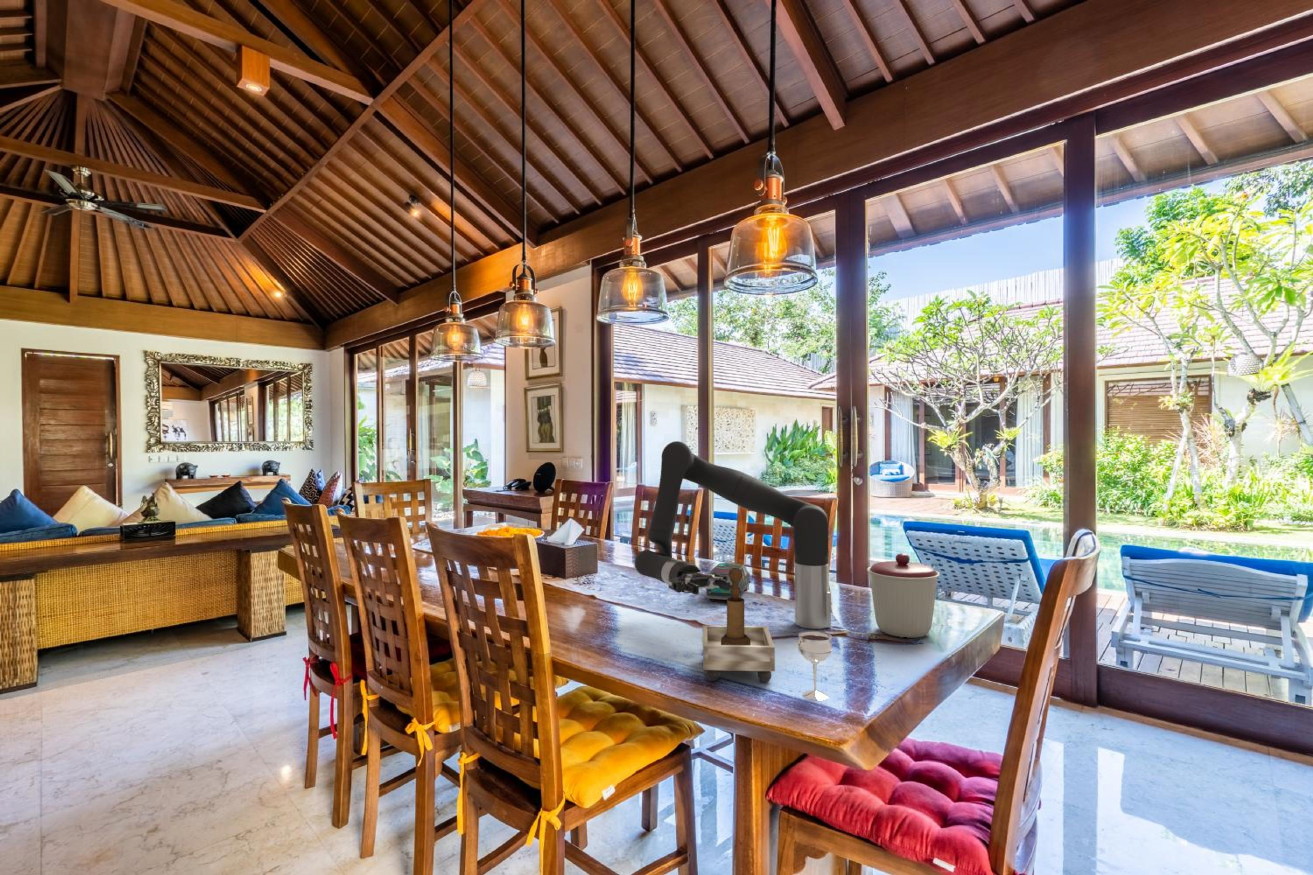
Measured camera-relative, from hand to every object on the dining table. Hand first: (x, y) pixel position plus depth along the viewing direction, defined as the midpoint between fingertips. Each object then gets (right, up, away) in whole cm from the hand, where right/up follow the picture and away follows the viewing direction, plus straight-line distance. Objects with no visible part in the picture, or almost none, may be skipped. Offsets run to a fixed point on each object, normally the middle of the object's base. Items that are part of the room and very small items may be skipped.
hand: (713, 588), depth 147 cm
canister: (+53, -17, +19) cm, 58 cm away
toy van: (+11, -17, +61) cm, 65 cm away
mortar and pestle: (+4, -12, -9) cm, 15 cm away
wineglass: (+19, -16, -22) cm, 33 cm away
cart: (+4, -16, -9) cm, 19 cm away
